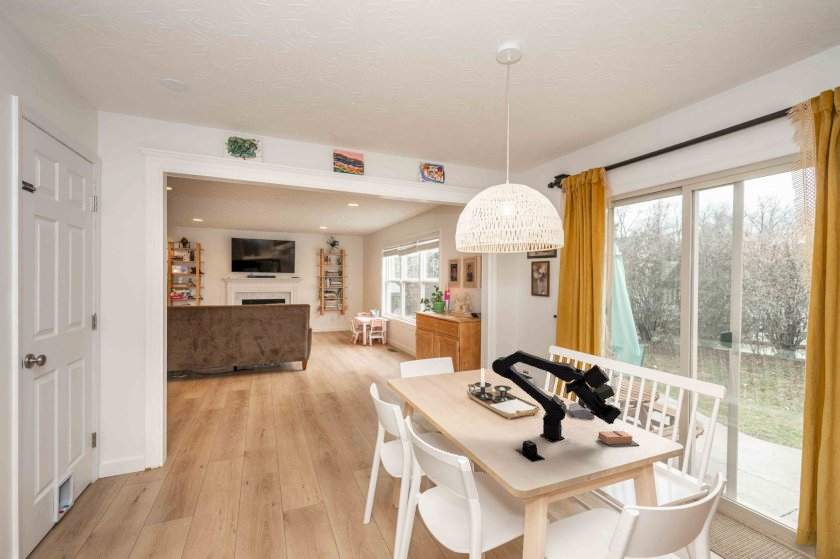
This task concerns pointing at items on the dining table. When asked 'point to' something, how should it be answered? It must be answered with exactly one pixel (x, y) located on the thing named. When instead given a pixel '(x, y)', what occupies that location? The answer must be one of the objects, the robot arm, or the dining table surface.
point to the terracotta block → (615, 437)
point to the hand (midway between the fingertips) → (612, 422)
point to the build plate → (530, 451)
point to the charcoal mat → (623, 444)
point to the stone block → (580, 411)
